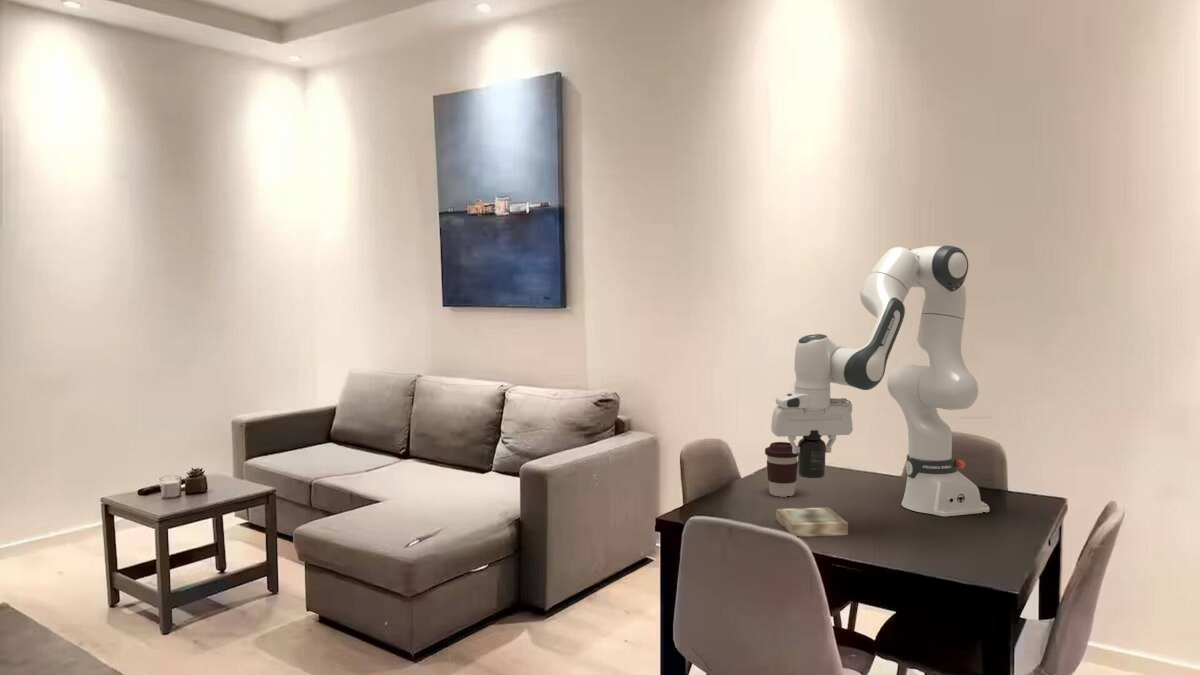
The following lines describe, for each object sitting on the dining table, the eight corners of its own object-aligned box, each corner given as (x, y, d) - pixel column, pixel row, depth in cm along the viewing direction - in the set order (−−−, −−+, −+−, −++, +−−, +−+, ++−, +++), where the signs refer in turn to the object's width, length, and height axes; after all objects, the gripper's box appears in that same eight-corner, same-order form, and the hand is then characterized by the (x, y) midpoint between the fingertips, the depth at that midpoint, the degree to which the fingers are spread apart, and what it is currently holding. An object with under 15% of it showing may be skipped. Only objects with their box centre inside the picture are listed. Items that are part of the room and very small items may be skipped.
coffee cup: (758, 494, 244) (758, 444, 242) (778, 488, 250) (778, 439, 249) (786, 500, 236) (786, 449, 235) (806, 494, 243) (806, 443, 242)
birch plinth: (828, 518, 219) (828, 506, 218) (847, 534, 205) (848, 522, 204) (776, 520, 218) (776, 508, 217) (792, 536, 204) (792, 524, 203)
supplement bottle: (826, 474, 212) (827, 428, 211) (823, 479, 205) (824, 431, 205) (799, 472, 214) (800, 426, 214) (795, 477, 208) (796, 430, 208)
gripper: (847, 396, 213) (846, 449, 214) (769, 397, 211) (769, 451, 212) (857, 399, 206) (856, 454, 207) (776, 401, 205) (776, 456, 206)
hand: (811, 452), depth 210 cm, fingers closed on supplement bottle, 7 cm apart
